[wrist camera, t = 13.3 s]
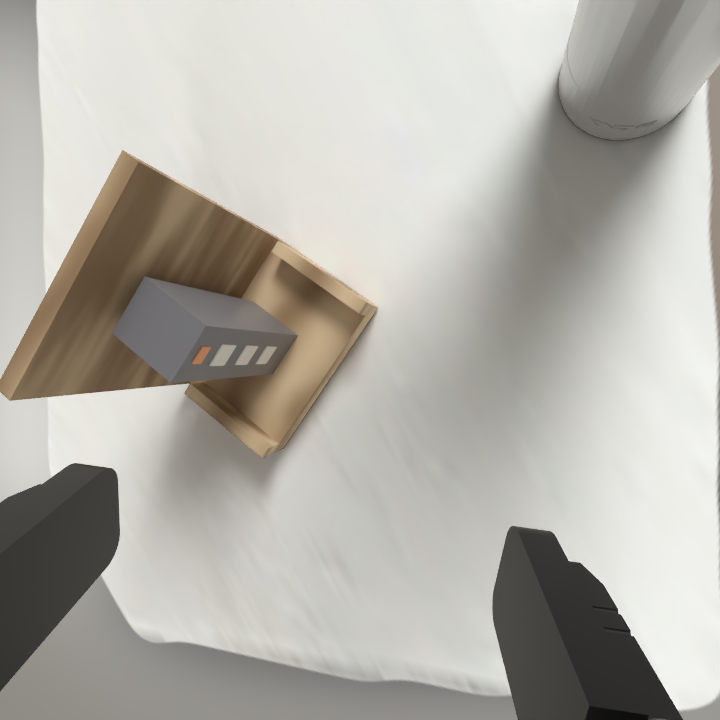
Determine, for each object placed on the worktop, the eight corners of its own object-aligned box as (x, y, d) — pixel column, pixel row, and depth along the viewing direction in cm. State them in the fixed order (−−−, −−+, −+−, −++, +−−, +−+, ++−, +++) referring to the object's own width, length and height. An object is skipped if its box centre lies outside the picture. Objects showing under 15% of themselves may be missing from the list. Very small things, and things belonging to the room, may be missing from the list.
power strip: (299, 336, 38) (207, 326, 26) (273, 374, 39) (171, 384, 26) (253, 301, 39) (144, 276, 27) (229, 339, 40) (111, 333, 27)
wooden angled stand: (378, 307, 38) (289, 268, 21) (282, 448, 41) (132, 517, 23) (277, 237, 41) (122, 150, 23) (193, 374, 43) (-4, 387, 26)
